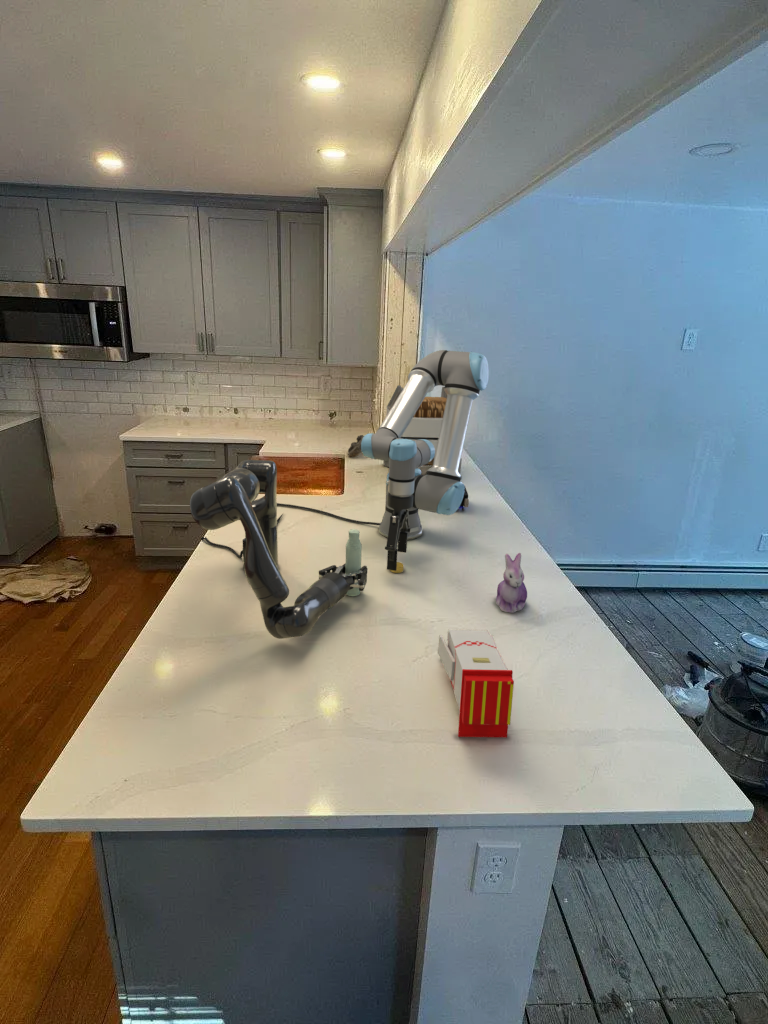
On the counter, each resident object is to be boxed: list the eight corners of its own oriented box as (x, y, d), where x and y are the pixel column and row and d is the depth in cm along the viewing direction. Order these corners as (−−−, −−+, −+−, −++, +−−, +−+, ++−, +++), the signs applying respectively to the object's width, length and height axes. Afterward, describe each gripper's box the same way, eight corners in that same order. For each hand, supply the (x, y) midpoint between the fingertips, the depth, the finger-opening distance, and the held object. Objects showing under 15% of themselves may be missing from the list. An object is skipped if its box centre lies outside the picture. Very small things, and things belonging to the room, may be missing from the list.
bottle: (349, 587, 160) (350, 527, 154) (362, 591, 159) (364, 530, 152) (342, 593, 156) (343, 532, 150) (355, 597, 155) (357, 535, 149)
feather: (290, 508, 223) (292, 504, 223) (272, 532, 197) (275, 527, 196) (286, 505, 223) (289, 501, 223) (268, 529, 197) (271, 525, 196)
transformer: (382, 463, 289) (386, 382, 275) (445, 464, 293) (451, 384, 279) (390, 482, 257) (394, 392, 243) (460, 483, 261) (468, 394, 247)
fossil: (347, 440, 315) (369, 425, 310) (358, 454, 318) (379, 439, 313) (341, 454, 295) (364, 438, 290) (353, 468, 298) (375, 452, 293)
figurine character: (468, 516, 224) (463, 500, 237) (471, 498, 221) (465, 483, 234) (452, 515, 224) (447, 499, 237) (453, 498, 220) (449, 482, 234)
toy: (488, 613, 130) (523, 677, 101) (484, 667, 133) (517, 744, 104) (435, 612, 130) (455, 676, 101) (432, 666, 133) (451, 743, 103)
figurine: (509, 617, 148) (516, 565, 143) (485, 599, 156) (491, 550, 151) (537, 610, 152) (544, 559, 147) (512, 593, 161) (519, 544, 156)
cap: (386, 569, 172) (387, 563, 172) (397, 566, 175) (397, 560, 174) (395, 574, 169) (396, 568, 169) (406, 570, 172) (406, 565, 171)
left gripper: (351, 585, 139) (381, 560, 154) (302, 572, 144) (335, 549, 159) (351, 612, 141) (380, 584, 156) (302, 598, 147) (335, 573, 162)
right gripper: (397, 480, 176) (394, 543, 183) (376, 504, 153) (373, 575, 161) (421, 483, 174) (417, 546, 182) (403, 508, 152) (399, 579, 159)
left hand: (357, 567), depth 158 cm, fingers closed on bottle, 4 cm apart
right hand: (396, 560), depth 171 cm, fingers open, 13 cm apart
